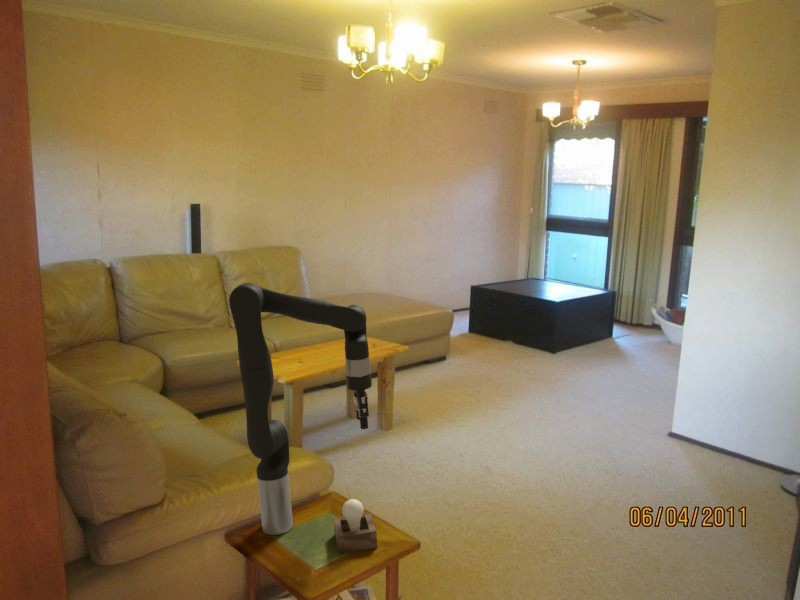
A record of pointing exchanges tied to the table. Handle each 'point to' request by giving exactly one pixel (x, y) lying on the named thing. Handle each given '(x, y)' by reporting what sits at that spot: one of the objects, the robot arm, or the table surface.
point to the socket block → (355, 535)
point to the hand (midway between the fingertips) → (362, 423)
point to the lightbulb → (353, 513)
